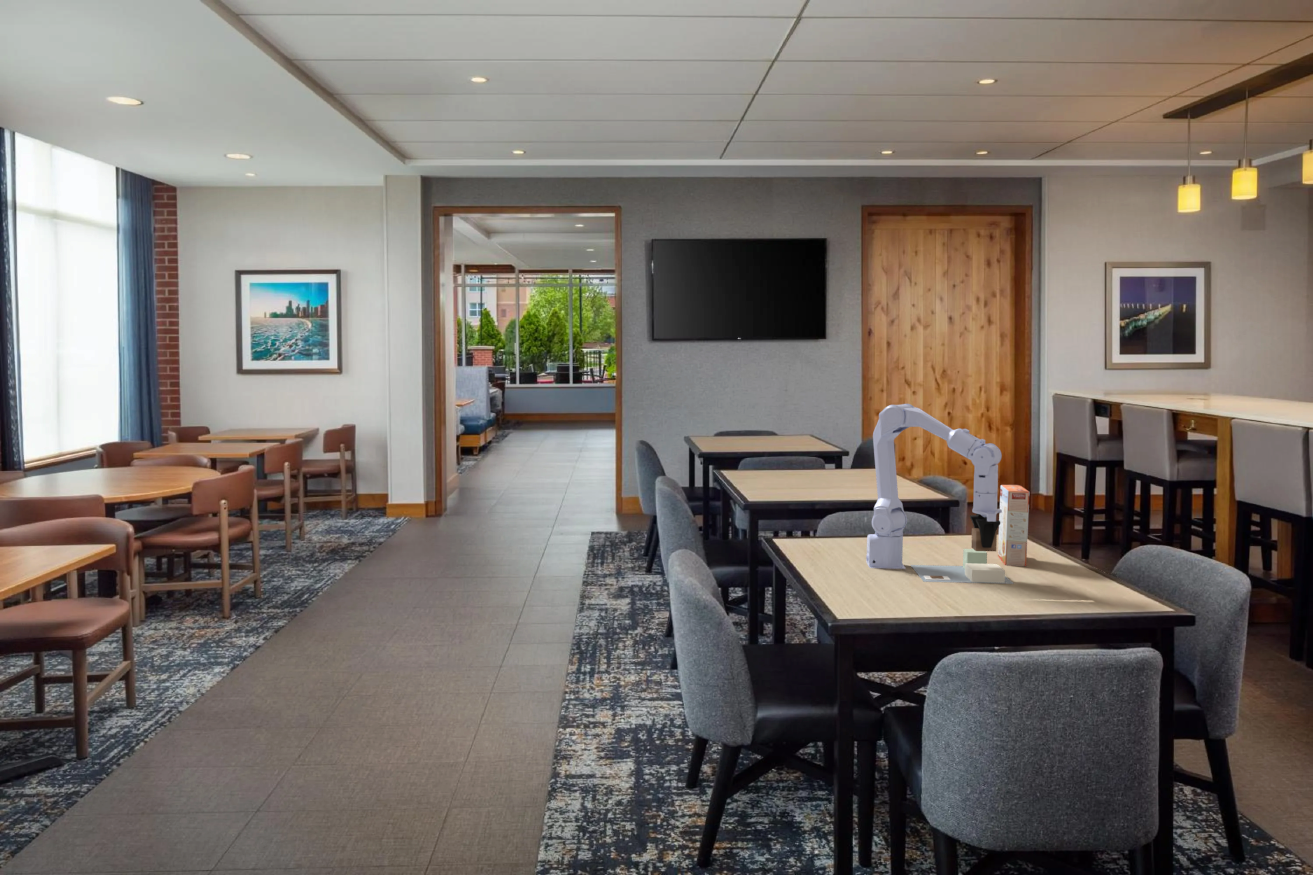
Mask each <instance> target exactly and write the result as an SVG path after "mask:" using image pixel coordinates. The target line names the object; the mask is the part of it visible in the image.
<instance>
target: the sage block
mask: <svg viewBox="0 0 1313 875" xmlns="http://www.w3.org/2000/svg"><path fill="white" fill-rule="evenodd" d="M962 550H963V553H962V554H963V556H962V557H963V558H962V566H963V568H964V569H965V563H974V564H988V551H975V550H974V549H973V548H963V549H962Z"/></svg>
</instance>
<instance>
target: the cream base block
mask: <svg viewBox="0 0 1313 875" xmlns="http://www.w3.org/2000/svg"><path fill="white" fill-rule="evenodd" d="M965 575H966V576H967V577H968V578H969V579H970V580H971V581H972V582H1005V576H1006V570H1005V569H1003V568H1002V567H1001V566H1000V565H999V564H997V563H987V564H974V563H965Z"/></svg>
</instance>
